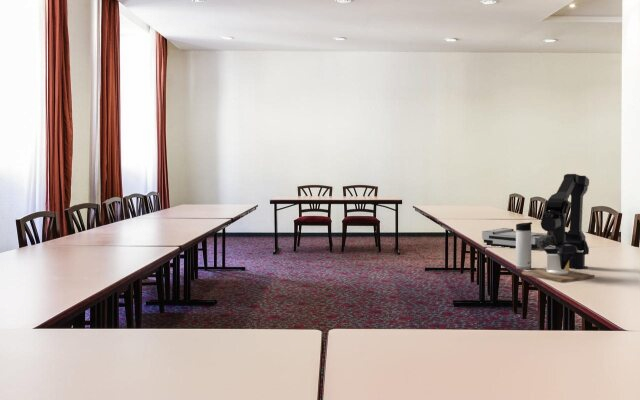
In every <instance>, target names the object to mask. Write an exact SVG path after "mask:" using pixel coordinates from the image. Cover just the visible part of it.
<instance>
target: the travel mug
mask: <svg viewBox="0 0 640 400" xmlns="http://www.w3.org/2000/svg"><path fill="white" fill-rule="evenodd" d="M532 225H533V222H532V221H529V222H521V223H516V225H515V231H516V249H515V269H517V270H524V271H529V270H532V249H531V232H532Z"/></svg>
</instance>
